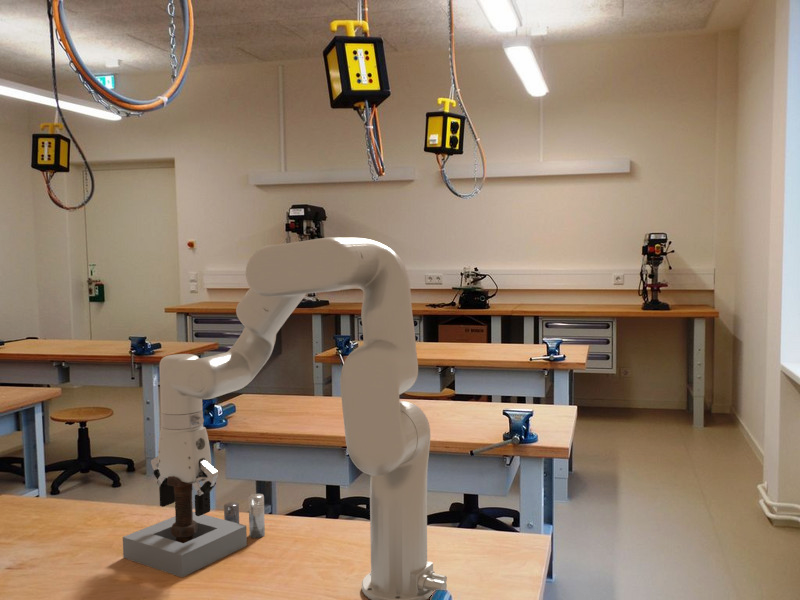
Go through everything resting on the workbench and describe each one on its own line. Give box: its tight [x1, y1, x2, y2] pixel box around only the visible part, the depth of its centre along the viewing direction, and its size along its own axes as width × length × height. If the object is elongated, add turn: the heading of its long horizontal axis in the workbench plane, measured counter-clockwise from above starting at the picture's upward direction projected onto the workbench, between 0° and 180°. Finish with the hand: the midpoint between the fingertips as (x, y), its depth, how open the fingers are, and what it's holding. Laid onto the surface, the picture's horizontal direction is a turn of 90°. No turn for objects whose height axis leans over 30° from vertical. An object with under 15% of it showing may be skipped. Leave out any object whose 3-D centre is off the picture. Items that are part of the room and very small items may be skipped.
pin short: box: [223, 501, 240, 524], centre depth 150 cm, size 3×3×5 cm
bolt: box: [167, 476, 198, 543], centre depth 138 cm, size 6×5×15 cm
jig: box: [122, 511, 248, 578], centre depth 138 cm, size 16×16×4 cm
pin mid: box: [248, 493, 266, 539], centre depth 146 cm, size 3×3×8 cm
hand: (184, 509), depth 138 cm, fingers open, 9 cm apart
